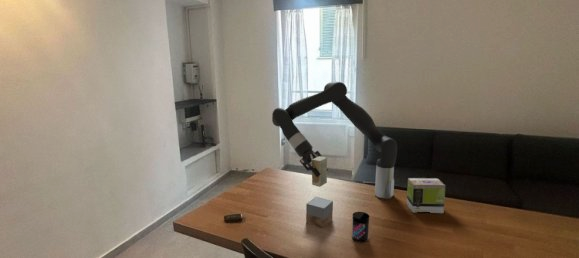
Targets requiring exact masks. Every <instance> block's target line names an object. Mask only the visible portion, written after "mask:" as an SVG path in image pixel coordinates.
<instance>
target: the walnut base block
mask: <svg viewBox="0 0 579 258" xmlns="http://www.w3.org/2000/svg"><path fill="white" fill-rule="evenodd" d="M333 212H334V210H333V211H332V212H331V213H330V214H329V215H328V216H327V217H325V218H324V219H323V218H319V217H316V216H312V215H309V214H306V213H305V223H306V224H307V225H311V226H314V227H317V228H320V229H325V228H326V227H327V226H328V225H329V224H330V223H331V222H333V214H334V213H333Z"/></svg>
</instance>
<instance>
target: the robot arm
mask: <svg viewBox="0 0 579 258" xmlns="http://www.w3.org/2000/svg"><path fill="white" fill-rule="evenodd" d="M347 93H348V87H347V86H346V84H345V83H343V82H341V81H332V82H331V81H330V82H328V83H326V84H325V85H324V87H323V90H322V91H321V92H318V93H316V94H313V95H309V96H307V97H304V98H301V99H299V100H297V101H295V102H292V103H291V104H289V105H288V106H287V108H286V109H284V108H282V107H277V108H275V109H274V110H273V111H272V113H271V114H272V115H271V116H272V117H271V118H272V121H271V122H272V124H273V125H274V126H275V127H279V128H280V129H281V132H282V134H283V136H284V137H285V139H286V140H287V141H288V142H289V145H290V146H291V148H292V149H293V150H294V152H295V153H296V154H297V156H298V158H299V157H300V158H301V159H299V162H300V163H301V165H302V166H303V167H304V168H305V170H306V171H307V172H308V171H311V173H312V172H313V173H314V174H315V176H316V177H318V176H320V175H321V174H320V172H319V171H318V170H317V169H316V168H315V165H314V164H313V161H312V159H314V158H316V157H319V156H321V157H323V156H322V154H321V153H320V151H319V150H316V151H314V150H313V145H312V144H311V143H310V141H309V140H308V138H306V136H305V135H304V134H303V133H302V132H301V130H299V128H298V127H297V126H296V125H295V123H294V122H293V121H294V120H295V119H296V118H298V117H301V116H302V115H305V114H307V113H309V112H311V111H313V110H315V109H317V108H319V107H321V106H324V105H327V104H330V103H333V104H334V106H336V108H338V109H339V110H340V112H341V113H342V114H343V115H344V116H345V117H346V118H347V119H348V120H349V121H350V123H352V124H353V126H354V127H355V128H357V129H358V131H360V132H361V133H362V135H364V136H365V137H366V138H367V139H368V140H369V141H370V143H371V144H372V145H373V147H374V148H375V149H376V150H377V151H378V153H380V158H378V159H377V160H376V166H375V167H376V168H375V183H374V186H375V187H374V196H375V197H377V198H380V199H387V200H388V199H389V200H391V199H392V197H393V196H394V190H395V189H394V188H395V179H394V173H395V164H396V162H397V157H398V156H397V155H398V143H397V141H396V140H395V139H394V138H391V137H389V136H387V135H385V134H384V133H383V132H382V131H381V130H380V129H378V127H377V126H376V123H375V120H374V119H373V118H372V116H371V115H370V114H369V113H368V112H367V111H366V110H365V109H364V108H363V107H362V106H361V105H359V104H358V103H356V102H355V101H353V100H351V99H350V98H349V97H348V96H347ZM328 171H329V169H328V168H327V172H328Z"/></svg>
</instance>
